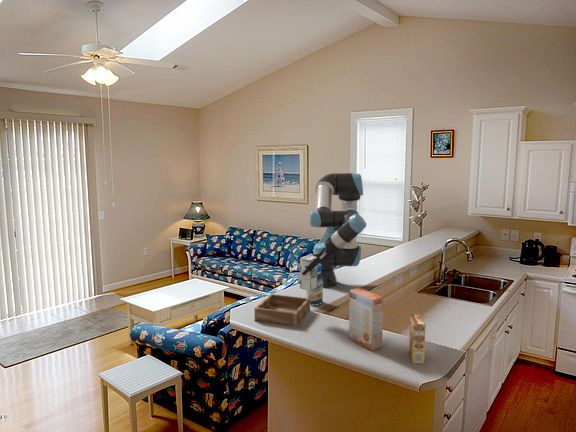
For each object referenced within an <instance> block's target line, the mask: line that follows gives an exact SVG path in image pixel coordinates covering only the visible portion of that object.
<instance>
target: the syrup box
mask: <svg viewBox="0 0 576 432" xmlns="http://www.w3.org/2000/svg"><path fill="white" fill-rule="evenodd" d="M316 258H317V257H314V255H305V256H301V257H300V258H299V273H300V272H301V271H303V270H304V269H305V268H306V267H305V266H308V265H309V264H310V263H312V262H313V261H314V260H315V259H316ZM315 288H317V266H316V267H315V268H313V269H312V270H311V272H309V273H308V274H307V275H306V276H305V277H304V278H303V279H302V280H301V281H300V280H299V289H301V290H305V291H307V290H309V291H311V290H313V289H315Z"/></svg>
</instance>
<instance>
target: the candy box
mask: <svg viewBox="0 0 576 432" xmlns="http://www.w3.org/2000/svg"><path fill="white" fill-rule="evenodd" d="M408 341H409V346H408V349H409V350H408V352H409V355H410V358H411V362H412V364H422V365H423V364H425V351H426V349H425V346H426V345H425V343H426V323H425V321H424V319H423V316H422V315H421V314H410V315H409V339H408Z"/></svg>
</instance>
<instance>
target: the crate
mask: <svg viewBox="0 0 576 432" xmlns="http://www.w3.org/2000/svg"><path fill="white" fill-rule="evenodd" d="M310 311H311V305H310V299H309V298H307V297H301V296H300V297H299V296H290V295H283V294H275V293H271V294H269V295H268V296H267V297H266V298H265V299H263V301H261V302H260V303H259V304H258V305H256V306H255V307H254V322H260V323H268V324H274V325H280V326H285V327H293V326H294V327H293V328H297V327H298V326H297V325H299V324H300V323H301V322H302V321H303V320H304V318H305V317H306V316H307V315H308V314H309V312H310ZM307 313H308V314H307Z"/></svg>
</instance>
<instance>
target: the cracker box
mask: <svg viewBox="0 0 576 432" xmlns="http://www.w3.org/2000/svg"><path fill="white" fill-rule="evenodd" d="M348 319H349V321H348V325H349V326H348V329H349V330H348V338H349V339H351V340H352V341H354V342H355V343H358V344H359V345H361V346H362V347H364V348H366V349H367V350H369V351H371V352H372V351H376V350H378V349H382V348H383V326H384V325H383V321H384V297H383V296H381V295H379V294H377V293H375V292H372V291H369V290H367V289H365V288H362V287H357V288H352V289H350V290H349V317H348Z"/></svg>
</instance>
